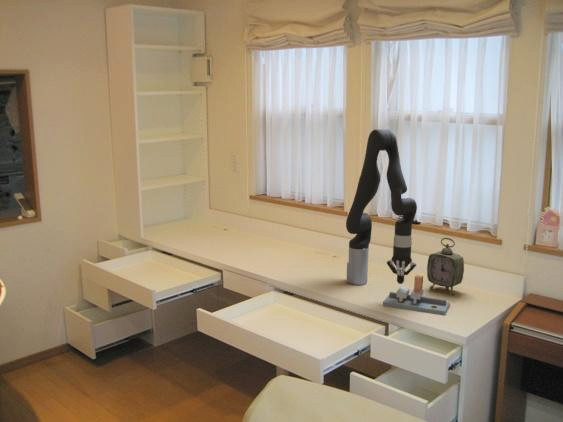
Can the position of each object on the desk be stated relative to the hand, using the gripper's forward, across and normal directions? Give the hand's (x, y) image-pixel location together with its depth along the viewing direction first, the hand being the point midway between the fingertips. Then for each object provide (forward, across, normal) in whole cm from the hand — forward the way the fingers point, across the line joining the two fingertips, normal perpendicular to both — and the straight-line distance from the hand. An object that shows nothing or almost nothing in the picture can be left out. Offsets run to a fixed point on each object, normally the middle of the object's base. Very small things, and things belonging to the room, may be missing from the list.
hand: (400, 283), depth 268 cm
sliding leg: (+6, +8, -2) cm, 10 cm away
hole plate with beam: (+8, +8, -2) cm, 11 cm away
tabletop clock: (+8, +16, +23) cm, 29 cm away
